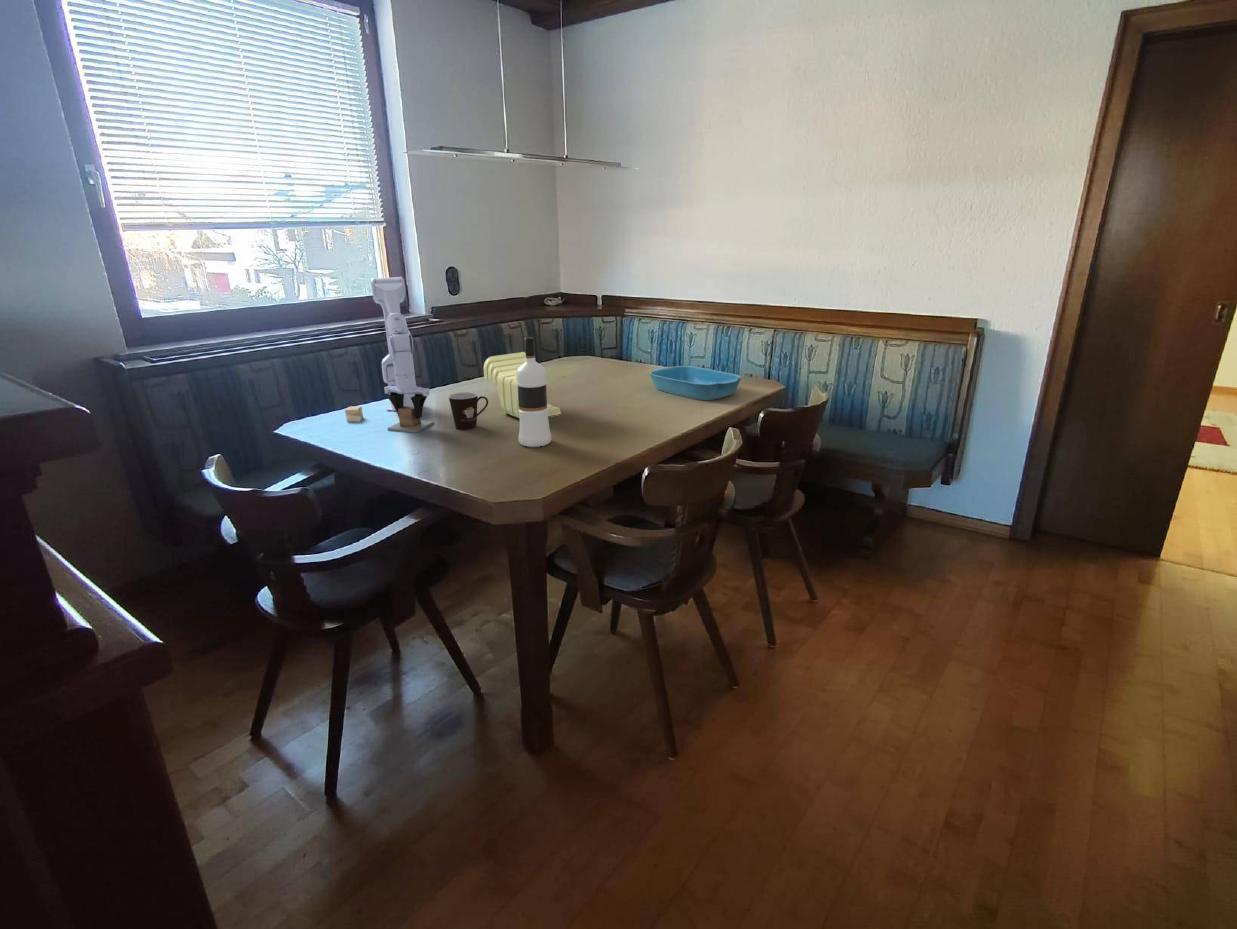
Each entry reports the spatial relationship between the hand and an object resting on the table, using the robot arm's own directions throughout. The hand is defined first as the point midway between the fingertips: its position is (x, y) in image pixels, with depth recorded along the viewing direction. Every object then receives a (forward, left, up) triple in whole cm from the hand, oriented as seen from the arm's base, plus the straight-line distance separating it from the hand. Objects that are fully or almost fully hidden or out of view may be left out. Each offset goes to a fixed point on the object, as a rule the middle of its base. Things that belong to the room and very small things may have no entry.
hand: (410, 417), depth 201 cm
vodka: (+5, +44, -3) cm, 44 cm away
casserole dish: (-68, +76, -4) cm, 102 cm away
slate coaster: (0, 0, -3) cm, 3 cm away
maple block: (-3, -23, -3) cm, 23 cm away
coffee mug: (-5, +18, -3) cm, 19 cm away
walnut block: (0, 0, -2) cm, 2 cm away
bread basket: (-23, +30, -3) cm, 38 cm away
